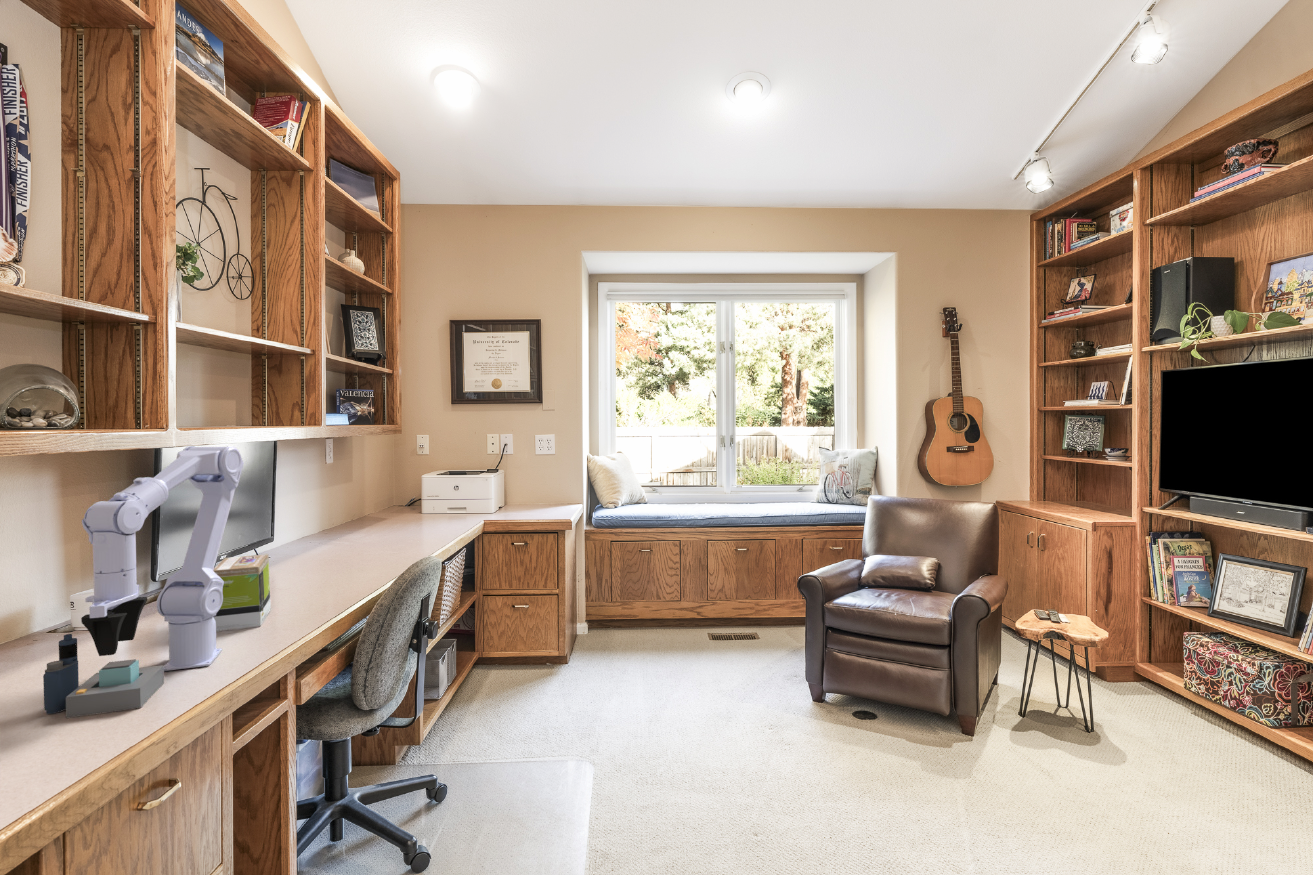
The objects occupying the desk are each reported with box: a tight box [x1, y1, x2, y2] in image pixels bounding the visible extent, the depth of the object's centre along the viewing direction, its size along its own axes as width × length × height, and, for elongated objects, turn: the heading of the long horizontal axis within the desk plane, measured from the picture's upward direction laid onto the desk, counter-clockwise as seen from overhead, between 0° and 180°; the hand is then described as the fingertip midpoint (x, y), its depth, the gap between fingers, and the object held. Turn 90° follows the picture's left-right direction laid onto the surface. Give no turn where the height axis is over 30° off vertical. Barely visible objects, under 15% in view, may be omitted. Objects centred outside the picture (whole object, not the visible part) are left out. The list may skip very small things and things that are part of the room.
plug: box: [98, 658, 140, 687], centre depth 112 cm, size 4×4×6 cm
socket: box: [65, 664, 165, 719], centre depth 112 cm, size 11×10×4 cm
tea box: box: [213, 553, 272, 633], centre depth 156 cm, size 15×10×15 cm, turn 23°
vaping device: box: [42, 633, 80, 715], centre depth 109 cm, size 3×5×12 cm, turn 2°
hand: (117, 647), depth 112 cm, fingers open, 7 cm apart
